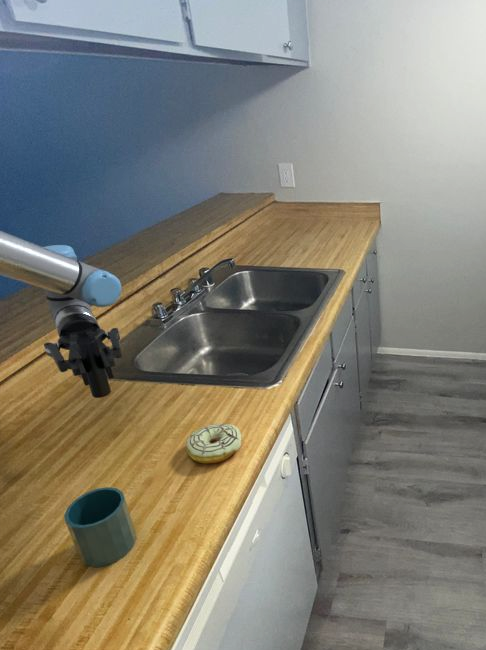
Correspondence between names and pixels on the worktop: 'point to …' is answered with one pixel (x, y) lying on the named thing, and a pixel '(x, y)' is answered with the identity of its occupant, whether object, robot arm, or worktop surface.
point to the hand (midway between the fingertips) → (97, 375)
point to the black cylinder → (93, 366)
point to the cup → (100, 526)
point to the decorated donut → (213, 443)
